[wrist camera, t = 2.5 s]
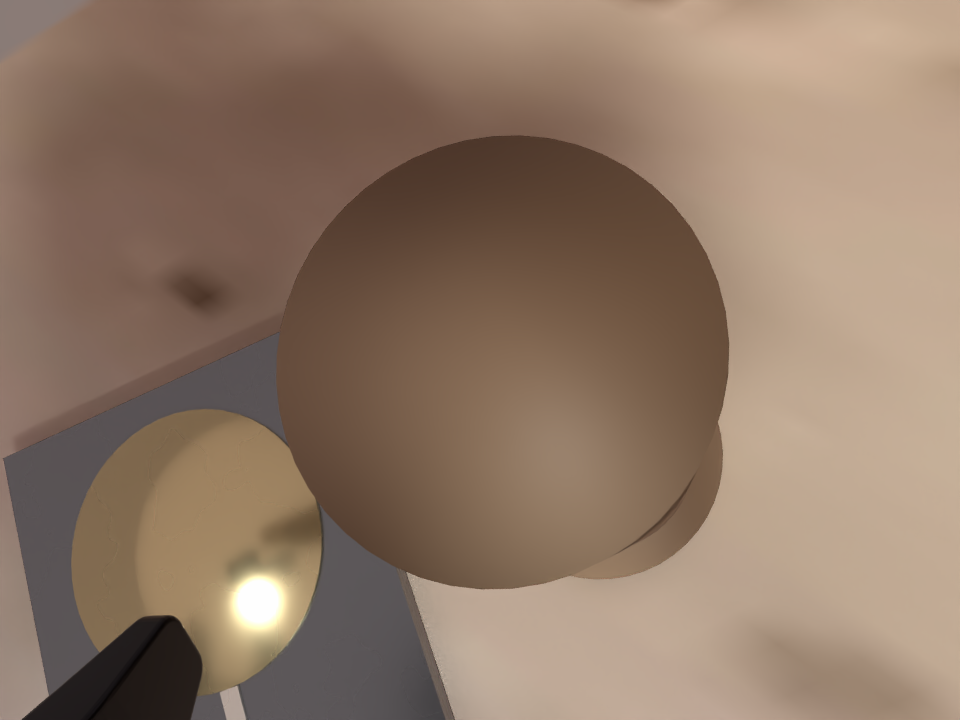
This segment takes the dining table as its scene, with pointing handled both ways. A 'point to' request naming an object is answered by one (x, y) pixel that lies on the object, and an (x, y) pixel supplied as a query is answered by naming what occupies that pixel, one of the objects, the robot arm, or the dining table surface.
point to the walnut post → (508, 367)
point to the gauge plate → (216, 556)
